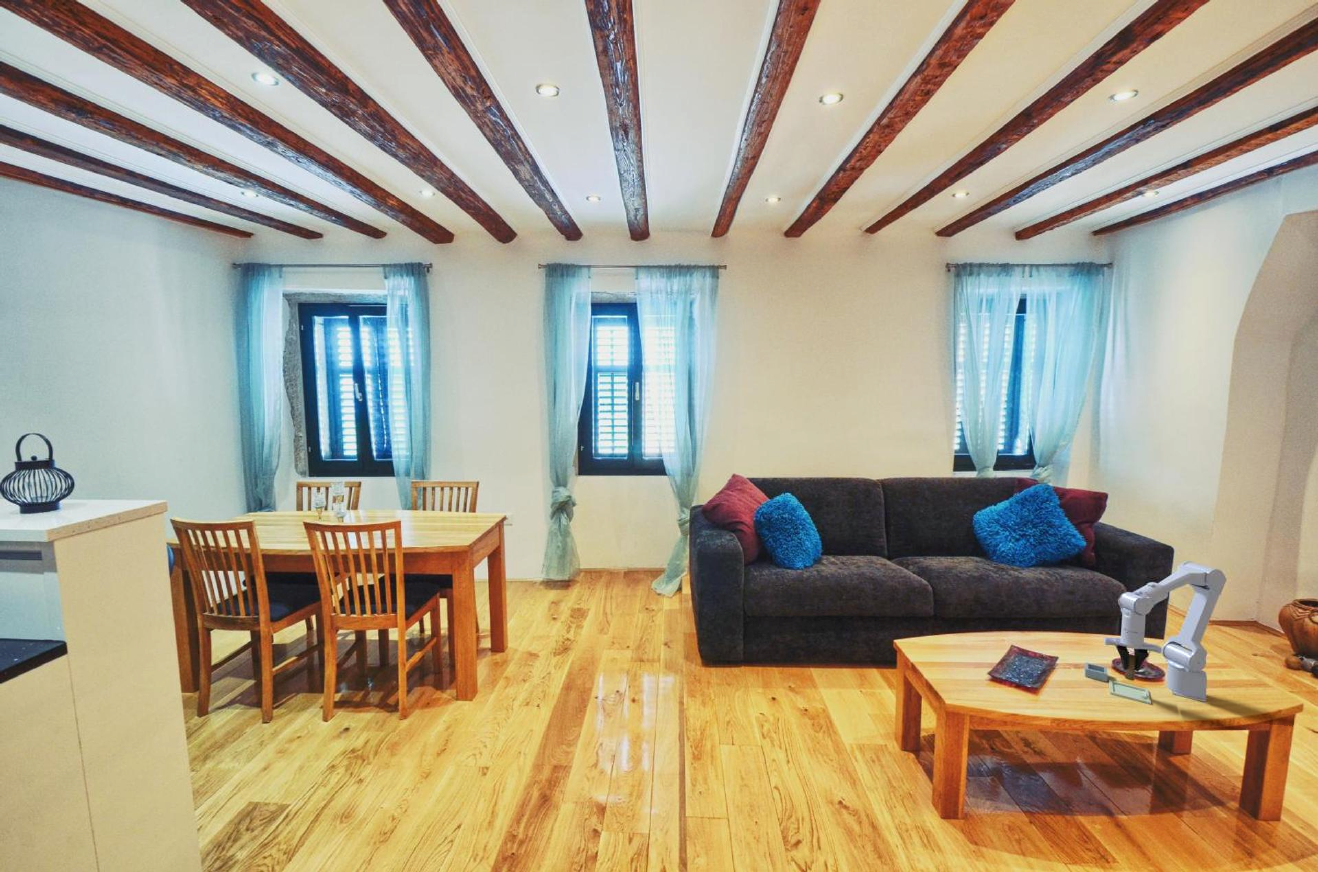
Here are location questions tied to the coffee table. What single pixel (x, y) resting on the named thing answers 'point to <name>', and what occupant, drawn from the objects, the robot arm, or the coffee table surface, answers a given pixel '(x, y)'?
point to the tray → (1129, 692)
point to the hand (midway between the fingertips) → (1130, 669)
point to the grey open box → (1096, 672)
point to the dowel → (1130, 668)
